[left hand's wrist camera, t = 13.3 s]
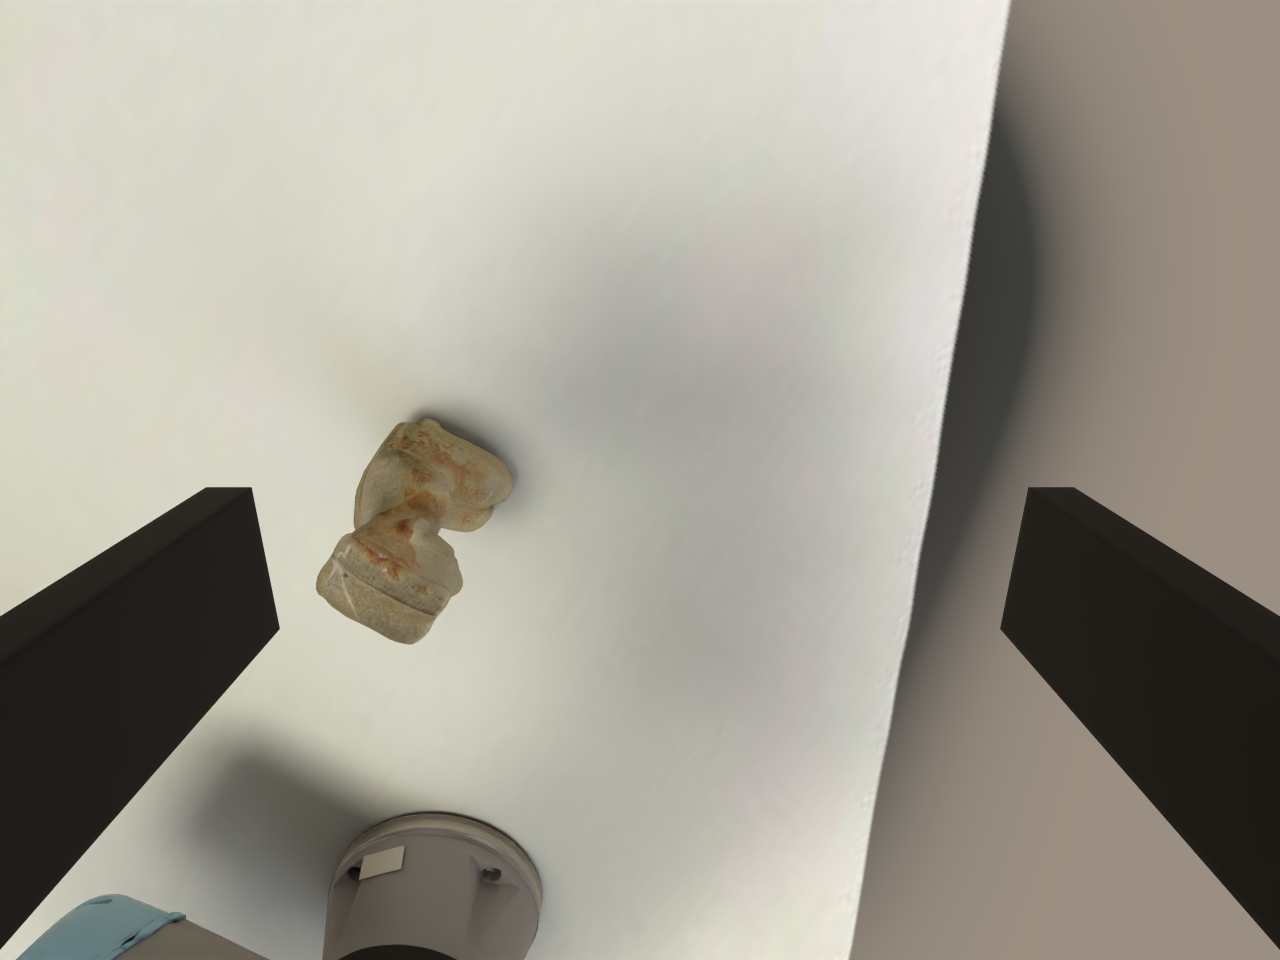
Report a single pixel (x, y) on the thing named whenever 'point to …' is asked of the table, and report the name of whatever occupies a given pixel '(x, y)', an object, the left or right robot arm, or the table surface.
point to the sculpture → (411, 529)
